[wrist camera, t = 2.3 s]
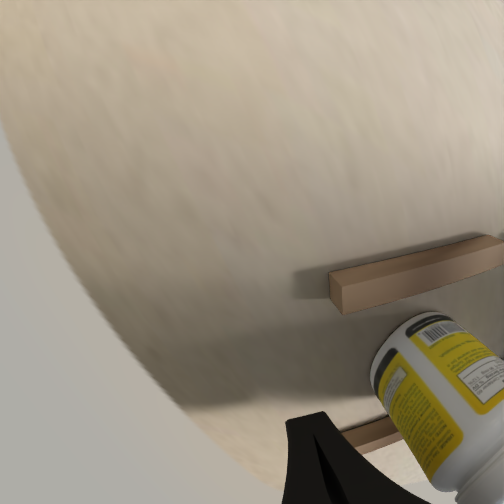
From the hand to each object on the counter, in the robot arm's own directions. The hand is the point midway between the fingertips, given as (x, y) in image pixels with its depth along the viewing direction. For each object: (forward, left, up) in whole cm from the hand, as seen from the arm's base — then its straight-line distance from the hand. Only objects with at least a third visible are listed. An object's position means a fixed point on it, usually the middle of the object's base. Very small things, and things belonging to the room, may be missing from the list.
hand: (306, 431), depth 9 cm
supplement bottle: (-6, 0, -2) cm, 6 cm away
